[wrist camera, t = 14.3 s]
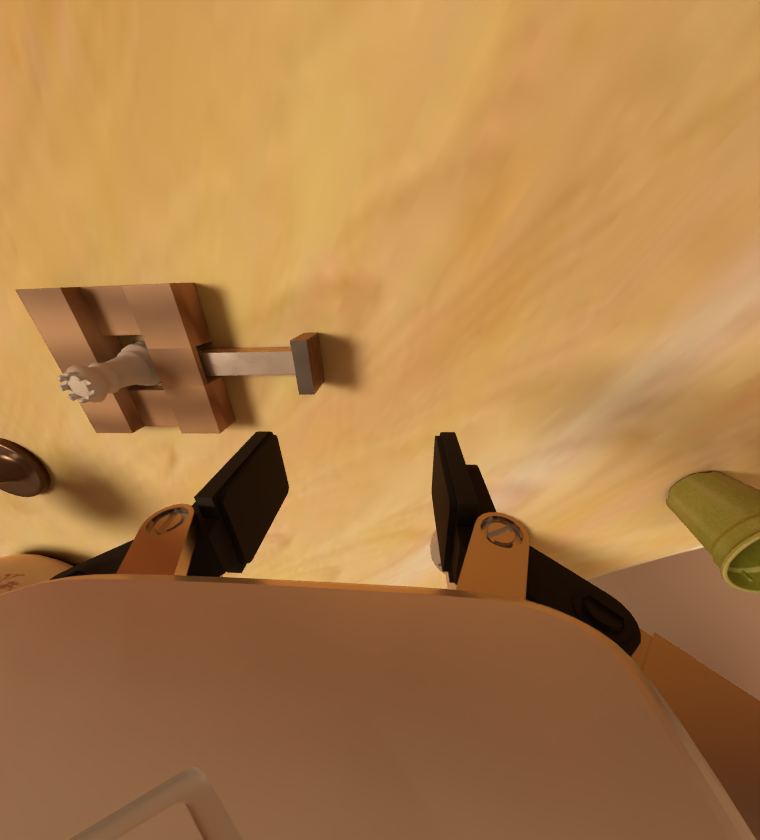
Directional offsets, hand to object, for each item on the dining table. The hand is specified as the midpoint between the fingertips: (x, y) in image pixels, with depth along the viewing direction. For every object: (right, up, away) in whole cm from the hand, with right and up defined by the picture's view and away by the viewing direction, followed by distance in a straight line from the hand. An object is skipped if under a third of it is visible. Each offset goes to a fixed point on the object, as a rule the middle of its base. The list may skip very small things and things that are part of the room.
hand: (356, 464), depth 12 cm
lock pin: (-11, +8, +17) cm, 22 cm away
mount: (-23, +8, +17) cm, 30 cm away
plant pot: (+37, -6, +20) cm, 42 cm away
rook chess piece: (-22, +8, +18) cm, 30 cm away
